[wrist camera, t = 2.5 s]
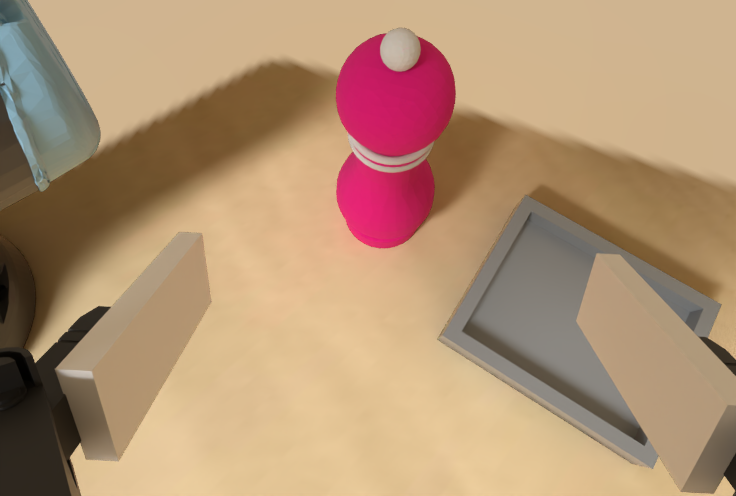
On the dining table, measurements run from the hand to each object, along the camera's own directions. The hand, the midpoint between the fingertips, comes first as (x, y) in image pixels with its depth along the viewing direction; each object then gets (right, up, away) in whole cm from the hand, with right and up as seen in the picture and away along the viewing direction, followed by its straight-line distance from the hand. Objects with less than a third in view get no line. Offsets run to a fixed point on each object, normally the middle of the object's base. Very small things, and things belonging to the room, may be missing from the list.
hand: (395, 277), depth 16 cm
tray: (+15, -5, +20) cm, 25 cm away
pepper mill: (0, +4, +23) cm, 23 cm away
